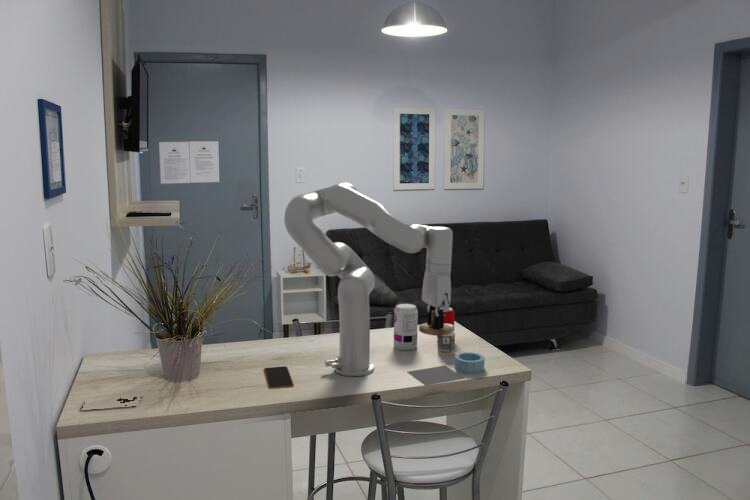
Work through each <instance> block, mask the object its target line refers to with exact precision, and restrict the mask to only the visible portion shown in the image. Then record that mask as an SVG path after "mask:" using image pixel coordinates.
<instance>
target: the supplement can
mask: <svg viewBox="0 0 750 500" xmlns="http://www.w3.org/2000/svg"><path fill="white" fill-rule="evenodd" d="M393 312H394V313H393V316H394V319H393V320H394V321H393V346H394V347H395V349H397V350H400V351H412V350H415V349H416V348H417V347H418V329H419V325H418V324H419V323H418V322H419V321H418V320H419V310H418V308H417V305H415V304H412V303H399V304H396V305H395V308H394V310H393Z"/></svg>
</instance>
